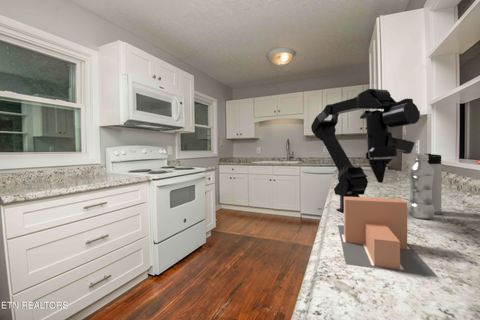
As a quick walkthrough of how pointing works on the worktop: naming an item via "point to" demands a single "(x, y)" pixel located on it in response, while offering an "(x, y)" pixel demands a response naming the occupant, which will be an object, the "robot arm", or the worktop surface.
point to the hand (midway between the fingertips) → (380, 182)
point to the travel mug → (436, 181)
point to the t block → (377, 227)
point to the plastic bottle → (421, 188)
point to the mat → (361, 257)
